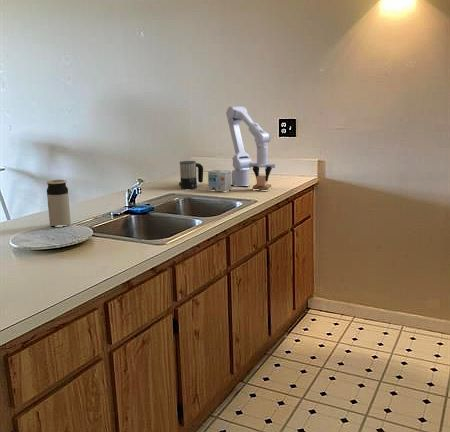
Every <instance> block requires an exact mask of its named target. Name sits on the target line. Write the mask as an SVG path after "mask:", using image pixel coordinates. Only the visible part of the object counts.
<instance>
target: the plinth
mask: <svg viewBox="0 0 450 432" xmlns="http://www.w3.org/2000/svg"><path fill="white" fill-rule="evenodd" d="M270 187H271V188H272V184H270V183H267V185H266V186H257V183H255V184H254V185H252V190H253V189H259V190H268V189H269V188H270Z"/></svg>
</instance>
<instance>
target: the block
mask: <svg viewBox="0 0 450 432" xmlns="http://www.w3.org/2000/svg"><path fill="white" fill-rule="evenodd" d="M256 184H257V186H266V185H267V184H268V181H266V174H263V175H261V174H259V175H258V176H257V180H256Z"/></svg>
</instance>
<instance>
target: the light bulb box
mask: <svg viewBox="0 0 450 432" xmlns="http://www.w3.org/2000/svg"><path fill="white" fill-rule="evenodd" d="M207 174H208V175H207V177H208V178H207V181H208V183H207V186H208V188H207V189H208V190H215V191H228V190H231V191H232V186H231V185H232V171H231V170H222V169H221V170H220V169H212V170H209V171H207ZM215 191H214V192H215ZM228 192H229V191H228Z"/></svg>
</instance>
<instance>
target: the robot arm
mask: <svg viewBox="0 0 450 432" xmlns="http://www.w3.org/2000/svg"><path fill="white" fill-rule="evenodd" d="M226 109H227V110H226V111H225V114H226V118H227V122H228V128H229V132H230V136H231V140H232V145H233V149H234V153H235V154H234V155H233V157H232V167H233V169H232V171H231V185H238V186H237V187H239V186H246V185H249V184H250V170H251V168H252V171H253V173H254V175H255V179H256V181H257V176H258V175H260V168H265V169H264V170H265V175H266V181H267V182H268V181H269V176H270V174H271V171H272V170H273V169H276V168H277V164H276V163H268V162H269V160H268V159H269V157H268V154H269V153H268V152H269V147H268V146H269V143H270V141H271V135H270V133H269V132H267V131H265V130H264V129H263V128H262V127H261V126H260V124H259V123H257V122H254V121H253V119H252V117H250V115H249V114H248V109H247V108H246V107H245V106H243V105H240V106H228V107H227V108H226ZM242 122H243V123H245V125H246V126H247V127H248V131H249V132H250V134H251V135H252V136H253V137H254V142H255V146H256V162H253V160H252V159H251V157H250V154H249V153H248V152H246V150H245V146H244V142H243V138H242V133H241V129H240V123H242Z"/></svg>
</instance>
